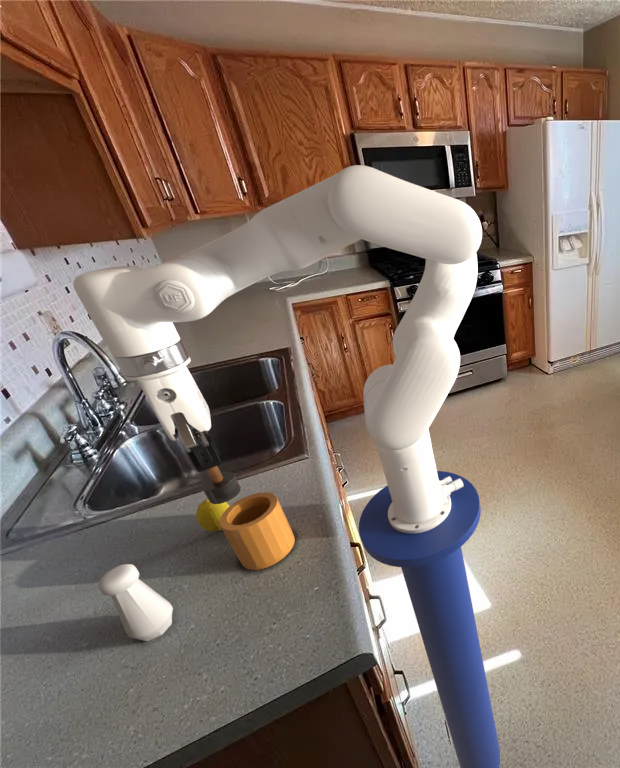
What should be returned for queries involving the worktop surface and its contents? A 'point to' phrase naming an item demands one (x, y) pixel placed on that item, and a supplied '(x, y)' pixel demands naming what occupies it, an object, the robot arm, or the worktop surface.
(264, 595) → the worktop surface
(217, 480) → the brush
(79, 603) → the worktop surface
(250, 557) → the jar
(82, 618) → the worktop surface
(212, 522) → the lemon
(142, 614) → the salt shaker
